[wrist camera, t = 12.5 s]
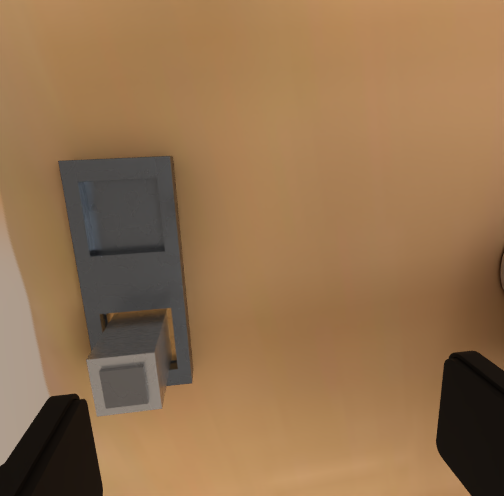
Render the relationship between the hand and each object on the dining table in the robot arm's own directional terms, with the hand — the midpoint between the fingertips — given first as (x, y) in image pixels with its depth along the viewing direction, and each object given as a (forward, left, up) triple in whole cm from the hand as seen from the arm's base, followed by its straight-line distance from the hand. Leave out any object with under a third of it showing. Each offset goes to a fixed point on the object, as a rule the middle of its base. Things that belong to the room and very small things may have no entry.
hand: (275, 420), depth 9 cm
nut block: (+9, +10, -25) cm, 29 cm away
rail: (+9, +4, -26) cm, 28 cm away
